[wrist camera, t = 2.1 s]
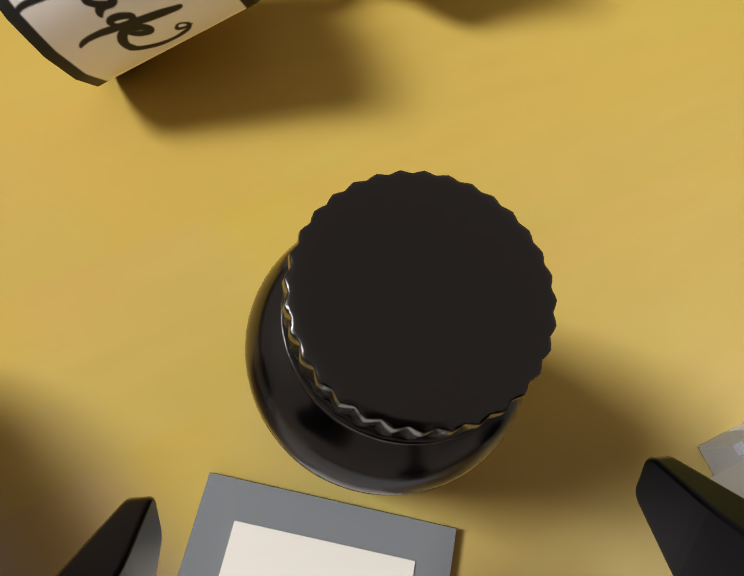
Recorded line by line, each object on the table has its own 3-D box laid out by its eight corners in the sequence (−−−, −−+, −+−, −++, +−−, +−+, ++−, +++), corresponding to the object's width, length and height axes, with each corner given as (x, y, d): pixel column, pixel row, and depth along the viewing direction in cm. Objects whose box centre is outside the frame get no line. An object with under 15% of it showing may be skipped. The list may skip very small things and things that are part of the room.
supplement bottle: (269, 310, 20) (225, 116, 9) (434, 307, 21) (574, 126, 10) (268, 491, 18) (206, 525, 7) (452, 479, 19) (658, 491, 8)
